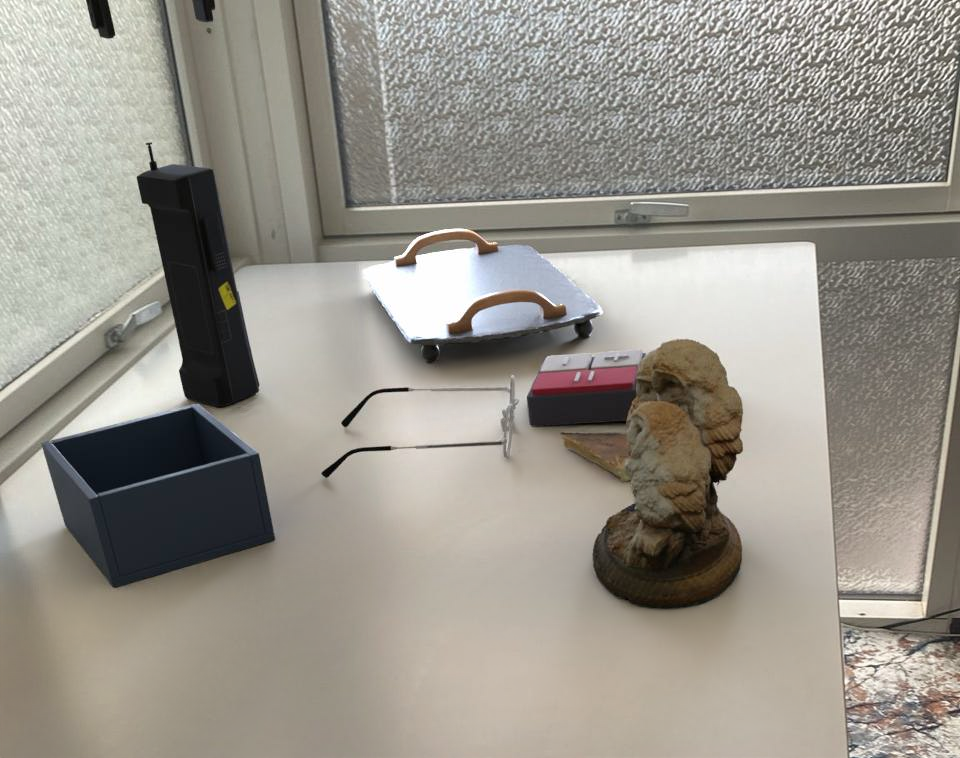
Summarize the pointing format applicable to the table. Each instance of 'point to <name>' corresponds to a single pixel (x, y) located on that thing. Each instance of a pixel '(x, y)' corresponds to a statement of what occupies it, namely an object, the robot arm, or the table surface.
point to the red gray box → (584, 388)
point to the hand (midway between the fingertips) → (156, 29)
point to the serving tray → (476, 293)
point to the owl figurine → (675, 483)
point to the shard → (601, 450)
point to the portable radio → (200, 283)
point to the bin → (159, 493)
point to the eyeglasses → (507, 415)
